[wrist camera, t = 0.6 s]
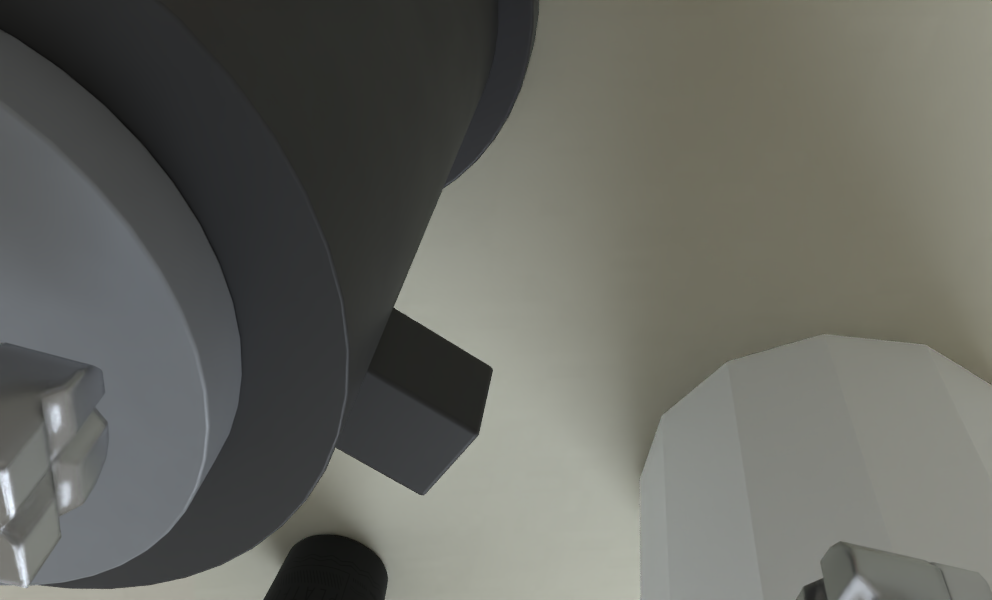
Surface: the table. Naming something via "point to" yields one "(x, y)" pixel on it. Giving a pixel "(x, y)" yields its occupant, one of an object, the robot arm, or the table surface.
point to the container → (816, 469)
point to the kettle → (240, 249)
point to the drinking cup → (329, 572)
